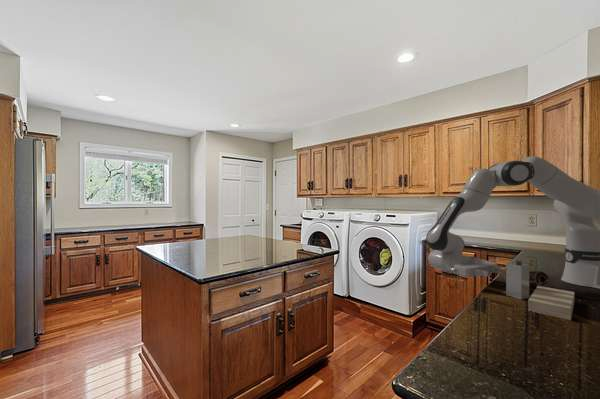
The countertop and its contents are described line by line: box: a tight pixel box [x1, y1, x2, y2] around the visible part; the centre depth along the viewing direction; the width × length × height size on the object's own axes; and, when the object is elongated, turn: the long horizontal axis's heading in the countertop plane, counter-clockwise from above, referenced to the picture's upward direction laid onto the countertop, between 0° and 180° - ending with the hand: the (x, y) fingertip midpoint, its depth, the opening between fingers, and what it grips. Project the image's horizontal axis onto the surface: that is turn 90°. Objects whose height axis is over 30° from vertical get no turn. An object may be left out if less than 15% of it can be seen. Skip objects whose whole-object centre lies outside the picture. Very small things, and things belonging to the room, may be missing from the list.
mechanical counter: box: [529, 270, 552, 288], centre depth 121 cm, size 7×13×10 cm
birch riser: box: [527, 286, 575, 321], centre depth 97 cm, size 22×10×4 cm, turn 135°
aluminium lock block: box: [505, 260, 530, 300], centre depth 107 cm, size 5×5×13 cm
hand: (495, 272), depth 114 cm, fingers open, 8 cm apart
